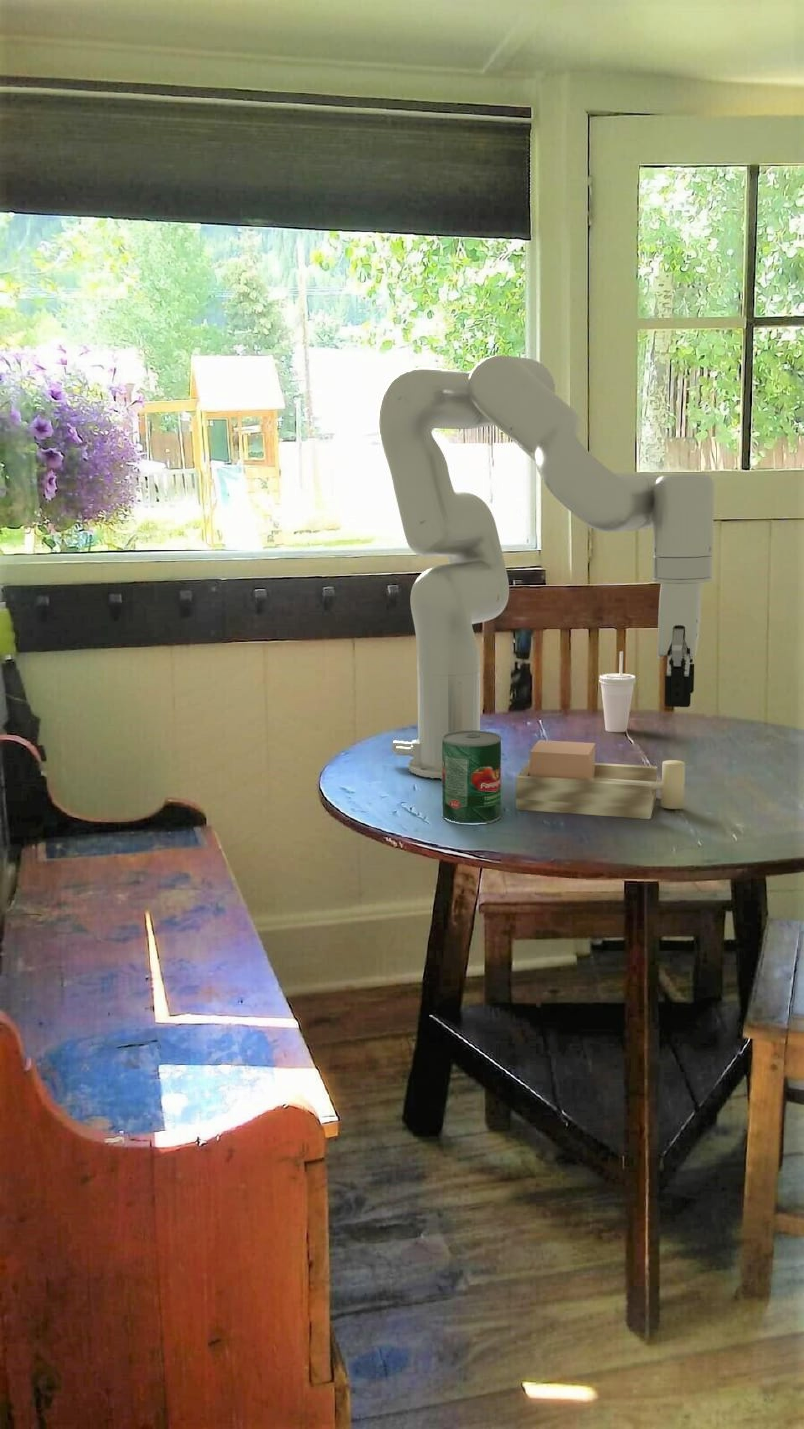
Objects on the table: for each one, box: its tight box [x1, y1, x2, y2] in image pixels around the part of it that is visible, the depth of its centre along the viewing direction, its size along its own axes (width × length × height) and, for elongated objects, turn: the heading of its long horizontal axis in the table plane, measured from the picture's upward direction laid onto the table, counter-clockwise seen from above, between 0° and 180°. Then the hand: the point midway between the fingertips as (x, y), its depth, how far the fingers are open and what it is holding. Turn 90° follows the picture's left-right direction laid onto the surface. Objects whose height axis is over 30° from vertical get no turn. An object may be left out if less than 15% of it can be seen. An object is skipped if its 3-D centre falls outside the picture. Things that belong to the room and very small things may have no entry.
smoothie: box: [598, 651, 637, 733], centre depth 202 cm, size 6×6×14 cm
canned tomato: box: [441, 730, 502, 824], centre depth 153 cm, size 8×8×11 cm
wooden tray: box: [515, 759, 658, 820], centre depth 159 cm, size 18×11×4 cm, turn 74°
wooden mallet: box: [529, 739, 686, 810], centre depth 158 cm, size 20×7×7 cm, turn 74°
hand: (679, 699), depth 153 cm, fingers open, 9 cm apart
